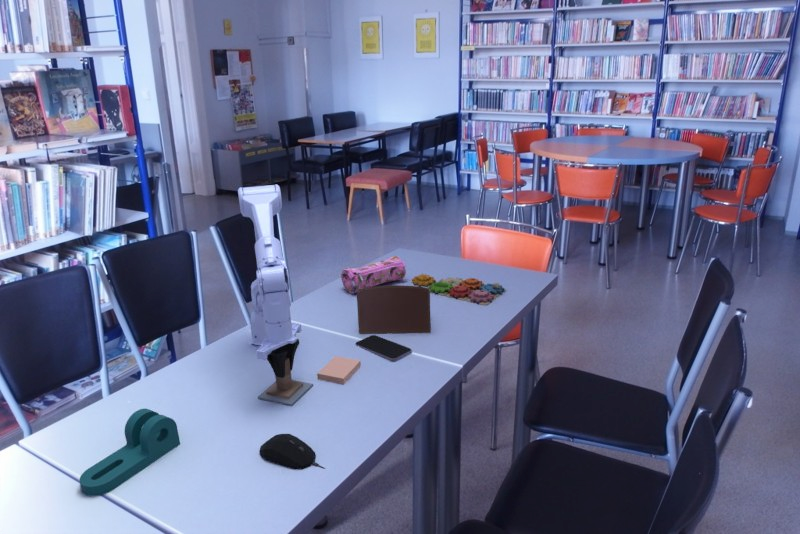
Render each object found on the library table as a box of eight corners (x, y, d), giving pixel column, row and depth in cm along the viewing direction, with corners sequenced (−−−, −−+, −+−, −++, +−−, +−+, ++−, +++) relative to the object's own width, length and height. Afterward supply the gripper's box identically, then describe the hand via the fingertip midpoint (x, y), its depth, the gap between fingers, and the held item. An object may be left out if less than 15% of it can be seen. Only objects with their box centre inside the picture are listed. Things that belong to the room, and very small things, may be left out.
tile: (317, 373, 138) (343, 378, 135) (335, 356, 145) (360, 360, 143) (317, 380, 138) (343, 385, 136) (335, 362, 146) (360, 367, 143)
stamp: (266, 394, 131) (262, 363, 129) (281, 381, 137) (277, 351, 134) (288, 399, 129) (285, 368, 127) (303, 385, 134) (300, 355, 132)
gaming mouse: (315, 480, 105) (313, 462, 104) (253, 457, 112) (250, 439, 111) (335, 460, 110) (333, 442, 109) (274, 439, 117) (272, 422, 116)
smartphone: (373, 334, 159) (413, 349, 149) (373, 337, 159) (413, 353, 149) (353, 343, 154) (393, 359, 144) (353, 347, 155) (393, 363, 144)
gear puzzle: (401, 288, 192) (401, 277, 190) (428, 273, 204) (428, 262, 203) (486, 308, 175) (486, 295, 173) (509, 290, 187) (510, 279, 186)
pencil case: (354, 298, 184) (352, 272, 181) (339, 290, 191) (338, 264, 188) (409, 282, 196) (408, 257, 193) (393, 275, 203) (392, 251, 200)
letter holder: (430, 333, 159) (430, 285, 154) (358, 335, 160) (355, 287, 155) (430, 318, 168) (429, 272, 164) (362, 319, 169) (359, 274, 165)
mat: (257, 398, 131) (257, 396, 131) (280, 379, 139) (280, 377, 138) (291, 406, 127) (291, 404, 127) (313, 385, 135) (312, 383, 135)
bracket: (158, 435, 120) (151, 402, 117) (180, 445, 116) (174, 411, 114) (74, 489, 105) (64, 452, 102) (96, 502, 102) (87, 464, 99)
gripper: (273, 335, 119) (280, 392, 124) (310, 307, 132) (315, 361, 136) (245, 330, 122) (253, 386, 126) (284, 304, 134) (290, 356, 139)
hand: (283, 373), depth 131 cm, fingers closed on stamp, 2 cm apart
